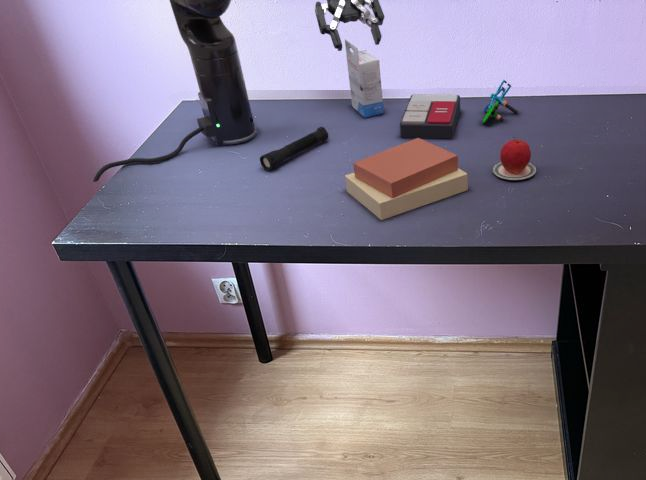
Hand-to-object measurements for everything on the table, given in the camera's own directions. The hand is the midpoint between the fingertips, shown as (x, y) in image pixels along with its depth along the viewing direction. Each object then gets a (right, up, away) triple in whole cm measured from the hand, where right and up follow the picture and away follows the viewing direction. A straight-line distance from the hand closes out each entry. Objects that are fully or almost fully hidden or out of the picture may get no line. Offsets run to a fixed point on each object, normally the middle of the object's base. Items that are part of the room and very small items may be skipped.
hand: (359, 45), depth 142 cm
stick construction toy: (+31, -15, +2) cm, 34 cm away
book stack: (+11, -37, -22) cm, 44 cm away
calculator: (+16, -17, 0) cm, 23 cm away
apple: (+31, -32, -18) cm, 49 cm away
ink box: (+1, -11, +8) cm, 14 cm away
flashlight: (-12, -26, -9) cm, 30 cm away
